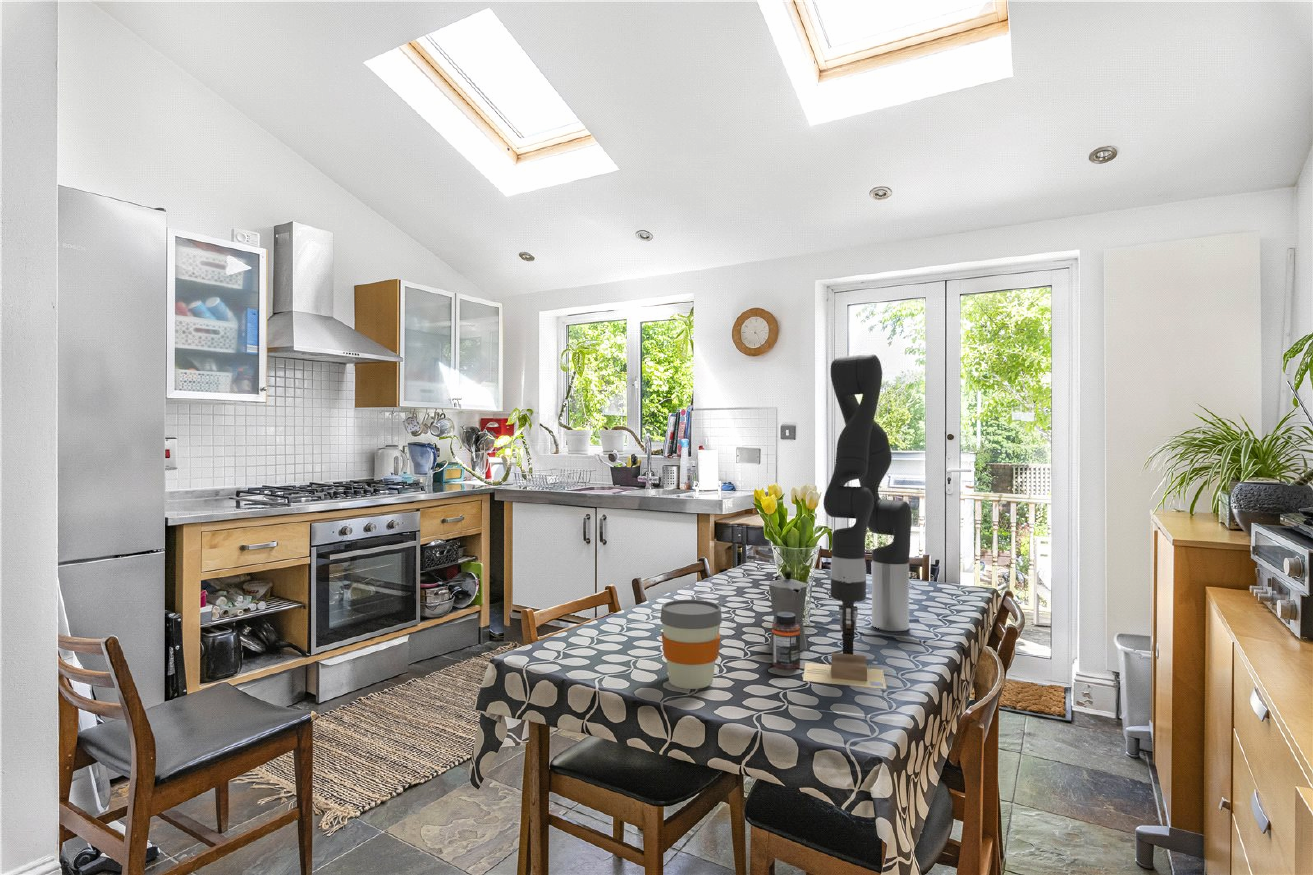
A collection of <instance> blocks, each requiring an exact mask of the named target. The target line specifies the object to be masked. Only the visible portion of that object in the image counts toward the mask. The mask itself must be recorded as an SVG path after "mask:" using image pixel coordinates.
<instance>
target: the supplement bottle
mask: <svg viewBox="0 0 1313 875" xmlns="http://www.w3.org/2000/svg"><path fill="white" fill-rule="evenodd" d="M776 619H777V621H776V623H774V624H773V623H772V625H773V626H772V625H771V626H772V627H771V631H772V648H771V649H772V651H771V652H772V658H771V660H772V665H773V667H775V668H778V669H781V670H796V669H798V668H800V666H801V652H800V627H799V625H798V624H797V623H796V622H795V620H796V619H795V614H794V613H790V612H779V613H777V618H776Z"/></svg>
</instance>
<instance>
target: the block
mask: <svg viewBox="0 0 1313 875" xmlns="http://www.w3.org/2000/svg"><path fill="white" fill-rule="evenodd" d="M830 656H831V659H830V660H831V661H830V665H831V678H836V679H846V680H857V681H867V668H868V665H867V664H868V662H867V655H863V654H854V653H853V654H843V653H839V652H831V655H830Z"/></svg>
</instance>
